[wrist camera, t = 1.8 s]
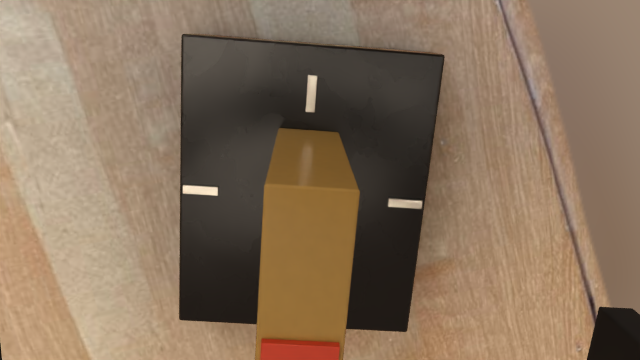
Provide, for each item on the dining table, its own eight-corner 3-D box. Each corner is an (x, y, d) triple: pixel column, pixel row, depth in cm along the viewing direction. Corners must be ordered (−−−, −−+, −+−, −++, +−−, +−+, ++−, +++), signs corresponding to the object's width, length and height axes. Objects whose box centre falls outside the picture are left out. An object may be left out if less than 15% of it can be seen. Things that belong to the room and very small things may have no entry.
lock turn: (278, 127, 21) (263, 186, 13) (339, 131, 21) (361, 193, 13) (270, 257, 22) (253, 381, 14) (327, 260, 22) (341, 386, 14)
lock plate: (194, 33, 22) (180, 33, 20) (430, 52, 23) (446, 54, 20) (190, 293, 25) (177, 322, 23) (397, 304, 26) (408, 334, 23)
